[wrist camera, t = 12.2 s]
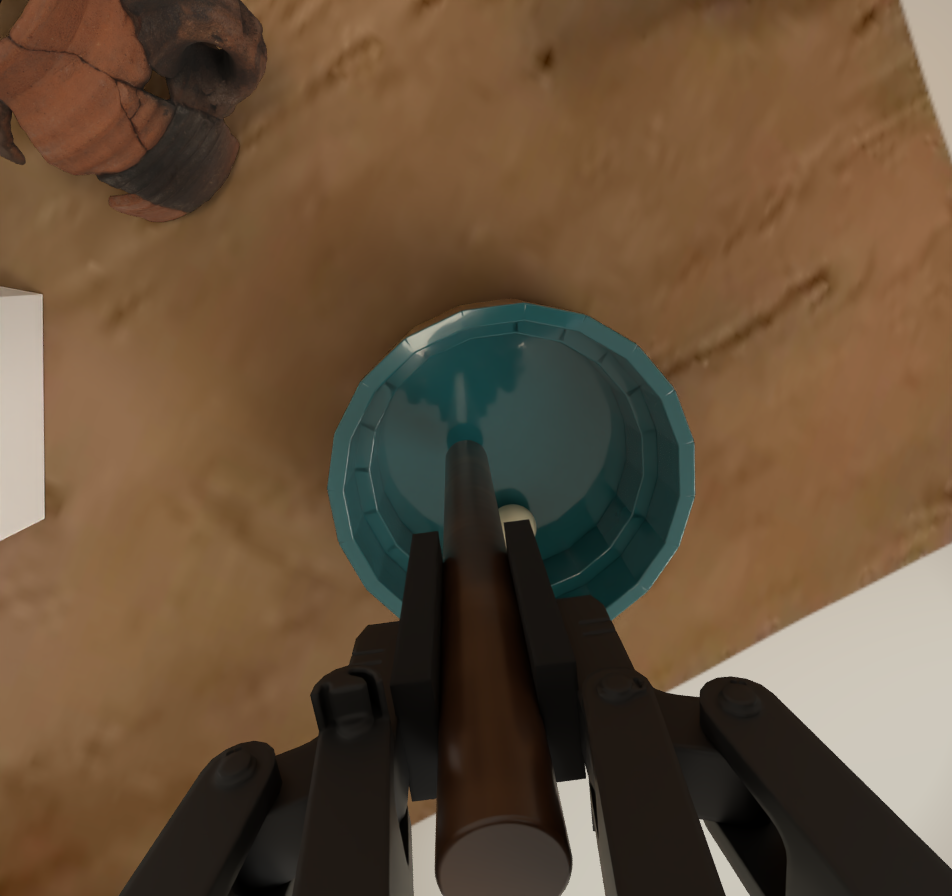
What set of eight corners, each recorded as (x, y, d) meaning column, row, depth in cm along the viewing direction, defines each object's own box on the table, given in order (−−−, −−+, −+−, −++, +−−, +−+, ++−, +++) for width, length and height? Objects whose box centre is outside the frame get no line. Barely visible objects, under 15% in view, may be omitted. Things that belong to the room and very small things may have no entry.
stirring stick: (484, 437, 27) (568, 810, 8) (489, 476, 28) (578, 914, 8) (442, 442, 27) (424, 830, 8) (448, 481, 28) (444, 934, 8)
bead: (530, 494, 30) (537, 512, 27) (534, 536, 30) (541, 556, 28) (485, 500, 30) (488, 518, 27) (490, 542, 30) (493, 563, 28)
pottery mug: (105, 260, 27) (-122, 151, 19) (103, 85, 28) (-106, -82, 21) (329, 186, 23) (167, 16, 16) (313, -7, 25) (159, -249, 17)
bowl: (642, 280, 28) (692, 280, 22) (653, 565, 32) (697, 627, 26) (326, 321, 27) (293, 331, 22) (380, 600, 32) (365, 671, 26)
